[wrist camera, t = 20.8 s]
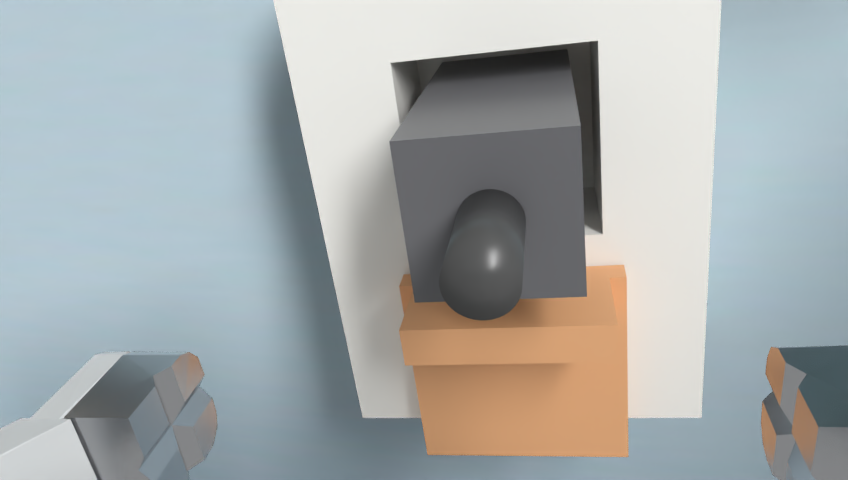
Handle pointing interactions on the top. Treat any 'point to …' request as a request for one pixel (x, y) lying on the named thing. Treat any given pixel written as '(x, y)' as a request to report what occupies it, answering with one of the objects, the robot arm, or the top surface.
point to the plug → (493, 184)
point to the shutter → (524, 373)
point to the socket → (601, 162)
